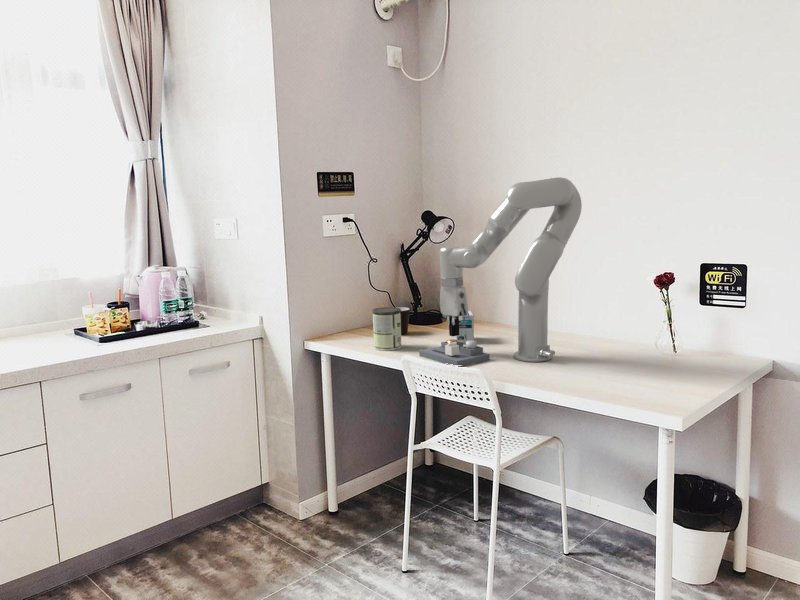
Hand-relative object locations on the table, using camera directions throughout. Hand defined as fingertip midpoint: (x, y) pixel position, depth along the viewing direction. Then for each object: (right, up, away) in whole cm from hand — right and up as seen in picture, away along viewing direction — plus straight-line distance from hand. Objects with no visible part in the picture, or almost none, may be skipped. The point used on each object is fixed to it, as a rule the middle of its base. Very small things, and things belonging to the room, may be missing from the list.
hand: (454, 335), depth 231 cm
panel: (-1, -7, -5) cm, 9 cm away
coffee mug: (-19, -2, +35) cm, 40 cm away
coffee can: (-23, -5, +13) cm, 27 cm away
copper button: (-1, -4, +1) cm, 4 cm away
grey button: (+5, -4, -7) cm, 10 cm away
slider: (-2, -6, -10) cm, 12 cm away
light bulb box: (+5, -3, +21) cm, 22 cm away
